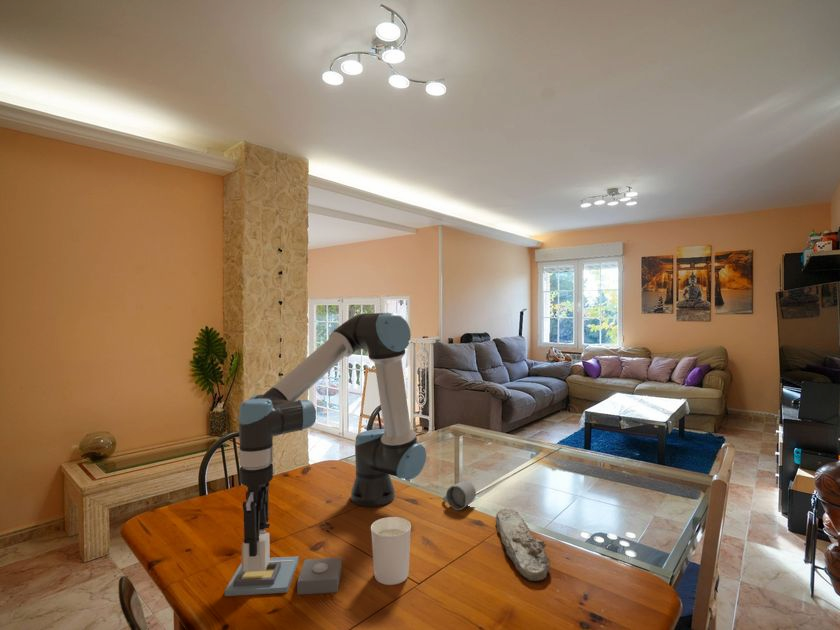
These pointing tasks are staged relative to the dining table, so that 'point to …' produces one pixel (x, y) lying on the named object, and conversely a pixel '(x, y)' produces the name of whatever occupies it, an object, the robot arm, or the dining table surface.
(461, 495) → the ceramic mug
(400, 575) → the candle holder
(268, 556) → the plug
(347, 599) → the dining table surface
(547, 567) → the long grey stone
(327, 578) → the grey push button box
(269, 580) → the board
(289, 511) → the dining table surface
